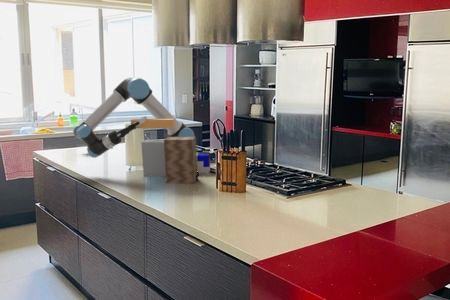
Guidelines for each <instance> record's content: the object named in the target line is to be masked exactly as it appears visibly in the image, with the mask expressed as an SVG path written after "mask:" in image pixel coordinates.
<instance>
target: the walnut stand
mask: <svg viewBox="0 0 450 300" xmlns="http://www.w3.org/2000/svg"><path fill="white" fill-rule="evenodd" d="M163 140H164V151H165V169H166V176H165V181H166V183H167V184H194V183H196V181H197V180H196V175H197V176H198V173H197V155H196V152H197V136H194V137H167V138H166V139H165V138H163Z"/></svg>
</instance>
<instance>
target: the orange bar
mask: <svg viewBox="0 0 450 300" xmlns="http://www.w3.org/2000/svg"><path fill="white" fill-rule="evenodd" d="M139 119H140V118H135V119H134V118H133V119H131V120H130V125H132V124H133V123H134V122H136V121H138V120H139ZM175 119H176V118H175ZM175 119H156V118H147V119H145V122H144V123H142V124H141V125H139V126H137V127H136V129H164V128H174V127H175Z"/></svg>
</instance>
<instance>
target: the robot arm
mask: <svg viewBox="0 0 450 300" xmlns="http://www.w3.org/2000/svg"><path fill="white" fill-rule="evenodd" d="M130 98H131V99H132V100H133V101H134V102H135V103H136V104H137V105H142V106H143V107H144V108H145V109H146V110H147V111H148V112H149V114H150V115H151V116H152V117H154V119H175V127H174V128H163V137H164V138H163V139H166V138H167V137H195V132H194V130H193V129H192V128H190V127H187V126H186V125H185V123H184V122H183V121H181V120H177V119H176V117H174V115H172V114H171V112H170V111H169V110H168V109H167V108H166V107H165V106H164V105H163V104H162V103H161V102H160V101H159V100H158V99H157V97H156V96H155V95H154V94H153V90H152V89H151V88H150V85H149V83H148V82H147V81H146V79H143V78H140V77H127V78H125V79H123V80H122V81H121V82H120V83H118V85H116V87H115V88H114V89H113V92H112V93H111V95H110V96H109V97H107V98H106V100H104V102H102V103H101V104H100V105H99V106H98V107H96V109H95V110H94V111H92V113H91V114H90V115H89V116H88V117H87V118H85V120H83V122H81V124H79V125H77V126H74V128H73V131H72V132H73V136H74V137H75V138H76V139H78V140H81V141H82V142H84V144H85V145H86V147H87V146H88V148H86V150H87V151H86V152H87V153H88V155H89V156H90V157H91V158H95V159H96V158H98V157H99V156H101V155H102V154H105V152H107V151H109V150H112V149H114V147H116V146H117V145H119V144H121V142H122V140H123V139H122V138H124V137H126V136H127V135H129V133H130V132H132V131H134V130H136V129H137V128H136V127H137V126H139V125H141V124H142V123H144V122H145V119H148V118H147V116H146V115H145V116H142V117H141V118H138V119H139V120H138V121H136V122H134V123H133V124H132V125H131V124H129V125H128V126H126V127H124V128H123V129H121V130H119V131H116V130H113V131H111V132H110V133H109V134H106V135H105V136H103V137H102V138H99V137H98V135H97V136H96V133H95V131H94V130H95V129H96V128H98V127H99V126H100V124H101V123H103V122H104V120H106V118H108V116H110V115H111V114H112V113H113V112H114V111H115V110H116V109H117V108H118V107H119V106H120V105H121V104H122V103H126V102H127V100H128V99H130ZM94 133H95V134H94Z"/></svg>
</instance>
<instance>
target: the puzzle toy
mask: <svg viewBox="0 0 450 300" xmlns="http://www.w3.org/2000/svg"><path fill="white" fill-rule="evenodd" d="M196 155H197V171H198V172H199V173H198V174H202V173H205V174H206V173H207V174H208V173H210V172H211V152H210V151H196Z"/></svg>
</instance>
